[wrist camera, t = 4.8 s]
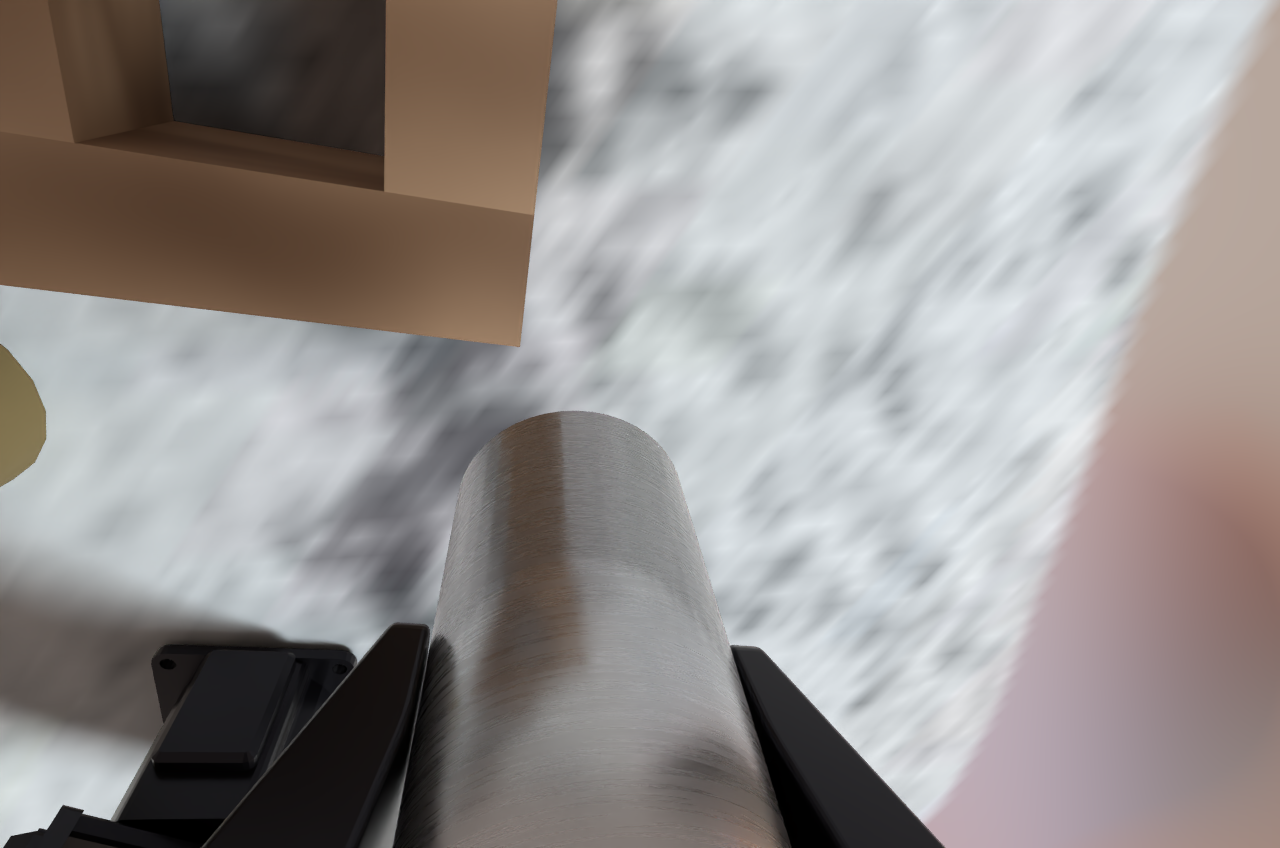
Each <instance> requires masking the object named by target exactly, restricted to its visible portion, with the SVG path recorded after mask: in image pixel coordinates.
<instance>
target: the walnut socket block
mask: <svg viewBox="0 0 1280 848" xmlns="http://www.w3.org/2000/svg"><path fill="white" fill-rule="evenodd" d="M556 8H557V0H386V46H385V156H381V155H375V154H369V153H363V152H357V151H351V150H345V149H339V148H333V147H327V146H321V145H315V144H309V143H303V142H297V141H291V140H285V139H279V138H273V137H267V136H261V135H255V134H249V133H243V132H237V131H231V130H225V129H219V128H213V127H207V126H201V125H195V124H189V123H183V122H177V121H174V120H173V112H172V103H171V95H170V87H169V79H168V71H167V63H166V54H165V46H164V38H163V30H162V22H161V13H160V5H159V0H0V285H6V286H14V287H23V288H31V289H40V290H48V291H56V292H65V293H73V294H81V295H90V296H98V297H106V298H115V299H123V300H132V301H140V302H148V303H157V304H165V305H173V306H182V307H190V308H198V309H207V310H215V311H224V312H232V313H240V314H249V315H257V316H265V317H274V318H282V319H290V320H299V321H307V322H316V323H324V324H332V325H341V326H349V327H357V328H366V329H374V330H382V331H391V332H399V333H407V334H416V335H424V336H433V337H441V338H449V339H458V340H466V341H474V342H483V343H491V344H499V345H508V346H516V347H520V341H521V331H522V322H523V313H524V304H525V294H526V285H527V276H528V267H529V257H530V248H531V239H532V230H533V220H534V211H535V202H536V193H537V183H538V174H539V165H540V156H541V146H542V137H543V128H544V119H545V109H546V100H547V91H548V82H549V72H550V63H551V54H552V45H553V35H554V26H555V17H556Z"/></svg>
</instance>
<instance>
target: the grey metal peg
mask: <svg viewBox="0 0 1280 848" xmlns="http://www.w3.org/2000/svg"><path fill="white" fill-rule="evenodd" d="M392 848H792V847H791V844H790V841H789V837H788V834H787V831H786V828H785V824H784V821H783V818H782V814H781V811H780V808H779V805H778V801H777V798H776V795H775V792H774V788H773V785H772V782H771V778H770V775H769V772H768V769H767V765H766V762H765V759H764V756H763V752H762V749H761V746H760V742H759V739H758V736H757V733H756V729H755V726H754V723H753V720H752V716H751V713H750V710H749V707H748V703H747V700H746V697H745V693H744V690H743V687H742V684H741V680H740V677H739V674H738V671H737V667H736V664H735V661H734V657H733V654H732V651H731V648H730V644H729V641H728V638H727V635H726V631H725V628H724V625H723V622H722V618H721V615H720V612H719V608H718V605H717V602H716V599H715V595H714V592H713V589H712V586H711V582H710V579H709V576H708V572H707V569H706V566H705V563H704V559H703V556H702V553H701V550H700V546H699V543H698V540H697V536H696V533H695V530H694V527H693V523H692V520H691V517H690V514H689V510H688V507H687V504H686V501H685V497H684V494H683V491H682V487H681V484H680V481H679V478H678V474H677V472H676V470H675V467H674V465H673V463H672V461H671V460H670V458H669V457H668V455H667V454H666V452H665V451H664V450H663V449H662V447H661V446H660V445H659V444H658V443H657V442H656V441H655V440H654V439H653V438H651V437H650V436H649V435H648V434H647V433H645V432H644V431H642V430H640V429H639V428H637V427H636V426H634V425H632V424H630V423H628V422H625V421H623V420H621V419H618V418H615V417H612V416H609V415H605V414H600V413H594V412H585V411H560V412H554V413H547V414H543V415H539V416H535V417H532V418H529V419H526V420H524V421H521V422H519V423H516V424H514V425H512V426H511V427H509V428H507V429H505V430H504V431H502V432H500V433H499V434H498V435H496V436H495V437H494V438H492V439H491V440H490V441H489V442H488V443H487V444H486V445H485V446H484V447H483V448H481V449H480V451H479V452H478V453H477V454H476V456H475V457H474V458H473V460H472V461H471V463H470V464H469V466H468V468H467V470H466V471H465V474H464V476H463V479H462V482H461V484H460V489H459V494H458V499H457V504H456V510H455V515H454V520H453V526H452V531H451V536H450V542H449V547H448V552H447V558H446V563H445V569H444V574H443V579H442V585H441V590H440V595H439V601H438V606H437V611H436V617H435V622H434V627H433V633H432V638H431V643H430V649H429V654H428V659H427V665H426V670H425V676H424V681H423V686H422V692H421V697H420V702H419V708H418V713H417V718H416V724H415V729H414V734H413V740H412V745H411V750H410V756H409V761H408V766H407V772H406V777H405V783H404V788H403V793H402V799H401V804H400V809H399V815H398V820H397V825H396V831H395V836H394V841H393V847H392Z"/></svg>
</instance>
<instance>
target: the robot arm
mask: <svg viewBox="0 0 1280 848" xmlns="http://www.w3.org/2000/svg"><path fill="white" fill-rule="evenodd" d="M429 638H430V629H429V627H428V626H427V625H425V624H414V623H399V622H397V623H394V624H392V625H390V626H389V627H388V628H387V629H386V631H385V632H384V633H383V634H382V635H381V636H380V638H379V639H378V640H377V641H376V642H375V644H374V645H373V646H372V647H371V648H370V649H369V651H368V652H367V653H366V654H365V655H364V656H363V658H362V659H361V660H360V661H359V662H358V664H357V659H356V657H355V656H354V655H353V654H352V653H350V652H348V651H343V650H315V649H285V648H255V647H225V646H195V645H165V646H163V647H160V648H159V650H158V651H157V652H156V654H155V656H154V657H153V659H152V663H151V664H152V669H153V674H154V679H155V684H156V689H157V694H158V699H159V703H160V708H161V713H162V718H163V723H164V724H163V726H162V728H161V730H160V732H159V733H158V735H157V737H156V739H155V741H154V742H153V744H152V746H151V748H150V750H149V751H148V753H147V755H146V757H145V759H144V761H143V762H142V764H141V766H140V768H139V770H138V771H137V773H136V775H135V777H134V779H133V780H132V782H131V784H130V786H129V788H128V789H127V791H126V793H125V795H124V797H123V799H122V800H121V802H120V804H119V806H118V808H117V809H116V811H115V813H114V815H113V817H112V818H111V820H106V819H102V818H98V817H94V816H89V815H85V814H82V813H83V811H84V810H81V809H77V808H73V807H69V806H65V805H63V806H62V807H61V809H60V810H59V812H58V814H57V815H56V817H55V818H54V820H53V821H52V823H51V825H50V826H49V828H48V829H47V830H45V829H41V828H39V830H38V831H34V832H29V833H24V834H19V835H14V836H11V837H10V838H9V840H8V841H7V843H6V844H5V846H4V847H3V848H392V847H393V841H394V836H395V831H396V825H397V820H398V815H399V809H400V804H401V799H402V793H403V788H404V783H405V777H406V772H407V766H408V761H409V756H410V750H411V745H412V740H413V734H414V729H415V724H416V718H417V713H418V708H419V702H420V697H421V692H422V686H423V681H424V676H425V670H426V665H427V657H428V648H429ZM730 648H731V651H732V654H733V657H734V661H735V664H736V667H737V671H738V674H739V677H740V680H741V684H742V687H743V690H744V693H745V697H746V700H747V703H748V707H749V710H750V713H751V716H752V720H753V723H754V726H755V729H756V733H757V736H758V739H759V742H760V746H761V749H762V752H763V756H764V759H765V762H766V765H767V769H768V772H769V775H770V778H771V782H772V785H773V788H774V792H775V795H776V798H777V801H778V805H779V808H780V811H781V814H782V818H783V821H784V824H785V828H786V831H787V834H788V837H789V841H790V844H791V847H792V848H945V847H944V846H943V844H942V843H941V842H940V841H939V840H938V839H937V838H936V837H935V836H934V835H933V834H932V833H931V831H930V830H929V829H927V827H926V826H925V825H924V824H923V823H922V822H921V821H920V820H919V819H918V817H917V816H916V815H915V814H914V813H913V812H912V811H911V810H910V809H909V808H908V807H907V806H906V804H905V803H904V802H903V801H902V800H901V799H900V798H899V797H898V796H897V795H896V794H895V793H894V791H893V790H892V789H891V788H890V787H889V786H888V785H887V784H886V783H885V782H884V781H883V780H882V779H881V777H880V776H879V775H878V774H877V773H876V772H875V771H874V770H873V769H872V768H871V767H870V766H869V764H868V763H867V762H866V761H865V760H864V759H863V758H862V757H861V756H860V755H859V754H858V753H857V751H856V750H855V749H854V748H853V747H852V746H851V745H850V744H849V743H848V742H847V741H846V740H845V739H844V737H843V736H842V735H841V734H840V733H839V732H838V731H837V730H836V729H835V728H834V727H833V726H832V724H831V723H830V722H829V721H828V720H827V719H826V718H825V717H824V716H823V715H822V714H821V713H820V711H819V710H818V709H817V708H816V707H815V706H814V705H813V704H812V703H811V702H810V701H809V700H808V699H807V697H806V696H805V695H804V694H803V693H802V692H801V691H800V690H799V689H798V688H797V687H796V686H795V684H794V683H793V682H792V681H791V680H790V679H789V678H788V677H787V676H786V675H785V674H784V673H783V672H782V670H781V669H780V668H779V667H778V666H777V665H776V664H775V663H774V662H773V661H772V660H771V659H770V657H769V656H768V655H767V654H766V653H765V652H764V651H763V650H761V649H760V648H758V647H753V646H739V645H731V646H730ZM338 664H342V665H343V666H342V665H338Z"/></svg>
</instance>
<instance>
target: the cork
mask: <svg viewBox="0 0 1280 848" xmlns="http://www.w3.org/2000/svg"><path fill="white" fill-rule="evenodd" d="M45 440H46V411H45V408H44V406H43V404H42V401H41V399H40V396H39V394H38V392H37V389H36V387H35V385H34V382H33V380H32V379H31V378H30V376H29V375H28V374H27V373H26V372H25V370H24V369H23V368H22V367H21V365H20V364H19V363H18V362H17V361H16V359H15V358H14V357H13V356H12V355H11V353H10V352H9V351H8V350H7V349H6V348H5V347H3V346H2V345H1V344H0V487H1V486H3V485H4V484H6V483H8V482H9V481H11V480H13V479H14V478H15V477H17V476H18V475H19V474H21V473H22V472H23V471H24V470H26V469H27V468H28V467H30V466H31V465H32V464H33V463H35V461H36V459H37V457H38V455H39V453H40V451H41V449H42V446H43V444H44V442H45Z"/></svg>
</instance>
